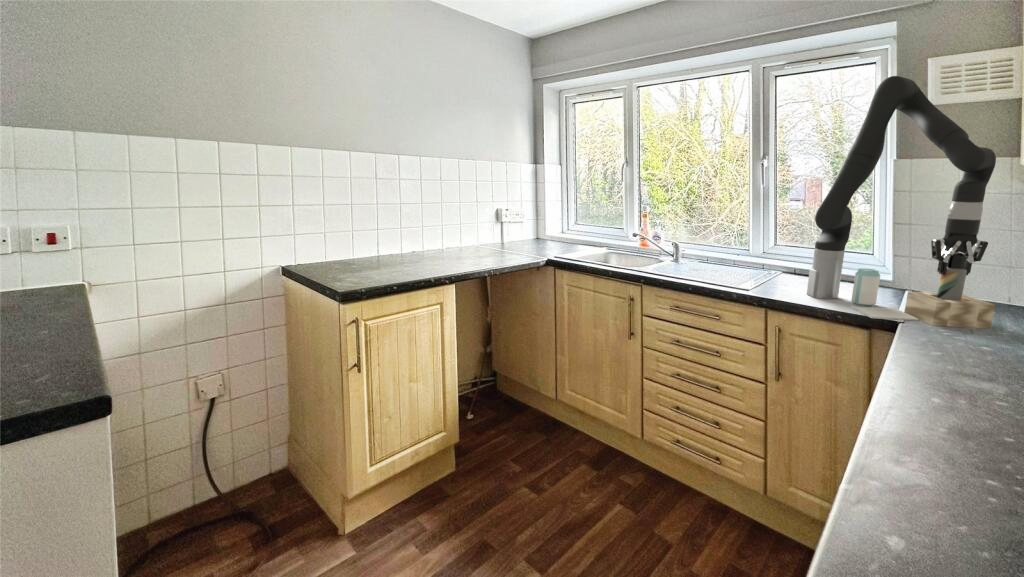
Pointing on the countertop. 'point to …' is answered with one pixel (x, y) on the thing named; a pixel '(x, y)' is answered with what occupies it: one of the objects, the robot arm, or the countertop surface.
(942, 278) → the lotion bottle
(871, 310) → the grey mat
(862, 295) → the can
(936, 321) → the pocket holder
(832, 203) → the robot arm
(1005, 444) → the countertop surface
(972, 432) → the countertop surface
